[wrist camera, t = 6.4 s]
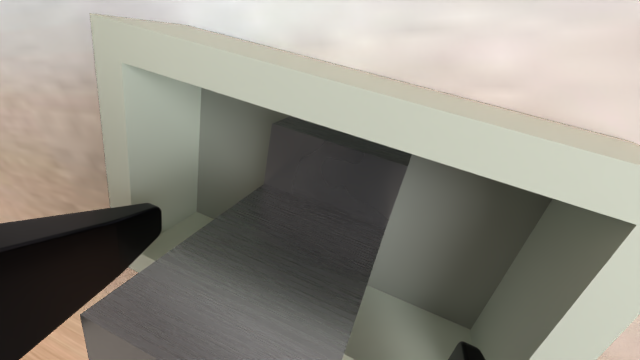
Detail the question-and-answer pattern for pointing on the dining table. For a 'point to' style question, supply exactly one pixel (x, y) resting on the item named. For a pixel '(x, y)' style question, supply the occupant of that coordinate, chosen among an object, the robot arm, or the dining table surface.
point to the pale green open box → (413, 198)
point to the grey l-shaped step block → (264, 261)
